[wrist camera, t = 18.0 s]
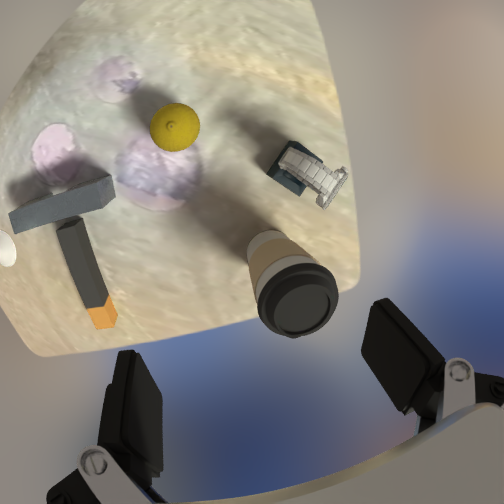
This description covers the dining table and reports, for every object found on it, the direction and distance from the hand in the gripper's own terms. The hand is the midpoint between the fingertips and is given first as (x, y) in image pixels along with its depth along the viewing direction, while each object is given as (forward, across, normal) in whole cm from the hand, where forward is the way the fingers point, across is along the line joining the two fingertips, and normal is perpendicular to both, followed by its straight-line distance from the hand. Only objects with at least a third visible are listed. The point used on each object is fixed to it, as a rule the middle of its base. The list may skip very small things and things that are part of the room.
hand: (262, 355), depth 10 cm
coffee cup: (+28, -7, +10) cm, 30 cm away
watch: (+28, -11, -2) cm, 30 cm away
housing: (+28, +20, -3) cm, 35 cm away
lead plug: (+28, +20, +8) cm, 35 cm away
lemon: (+28, +3, -9) cm, 30 cm away
